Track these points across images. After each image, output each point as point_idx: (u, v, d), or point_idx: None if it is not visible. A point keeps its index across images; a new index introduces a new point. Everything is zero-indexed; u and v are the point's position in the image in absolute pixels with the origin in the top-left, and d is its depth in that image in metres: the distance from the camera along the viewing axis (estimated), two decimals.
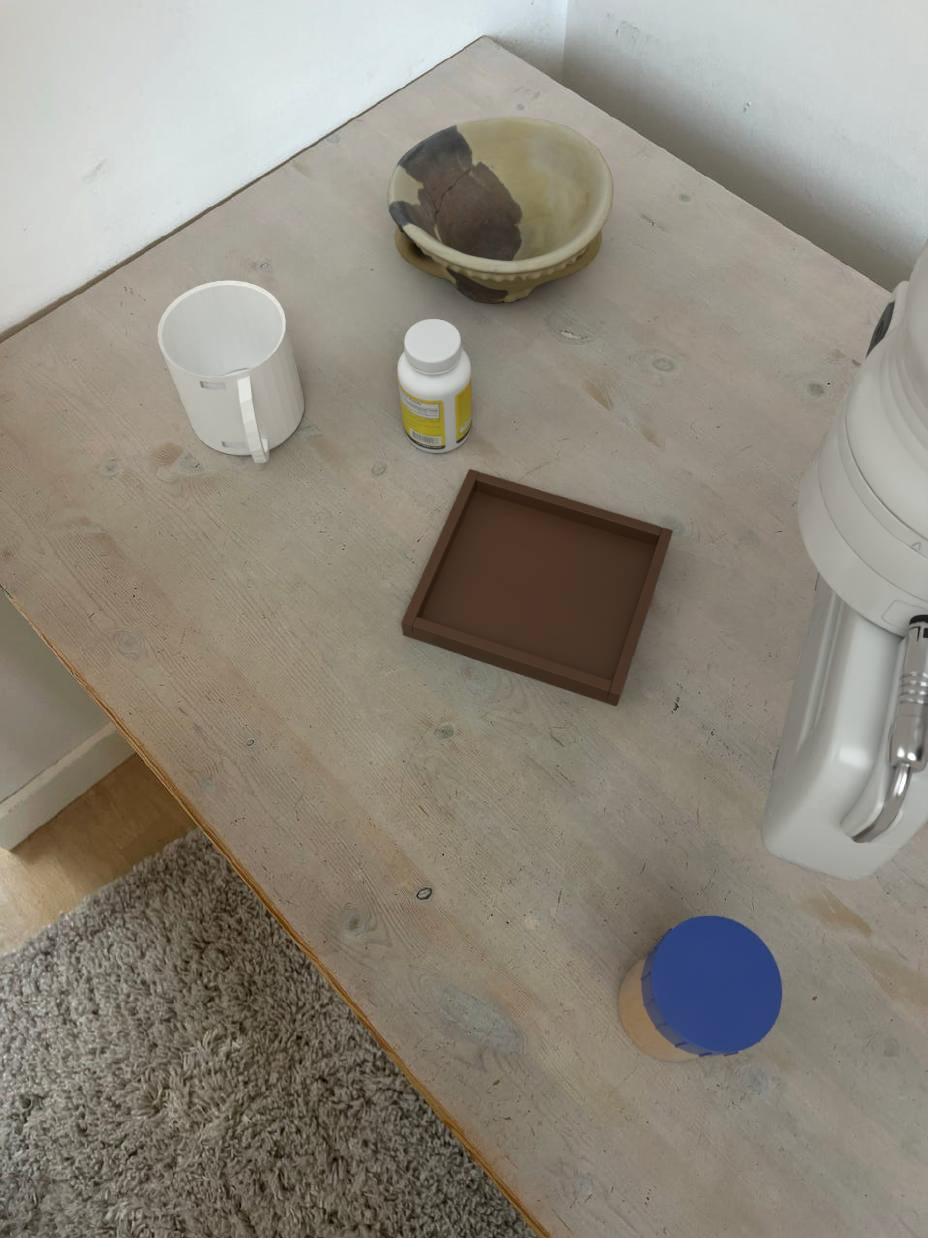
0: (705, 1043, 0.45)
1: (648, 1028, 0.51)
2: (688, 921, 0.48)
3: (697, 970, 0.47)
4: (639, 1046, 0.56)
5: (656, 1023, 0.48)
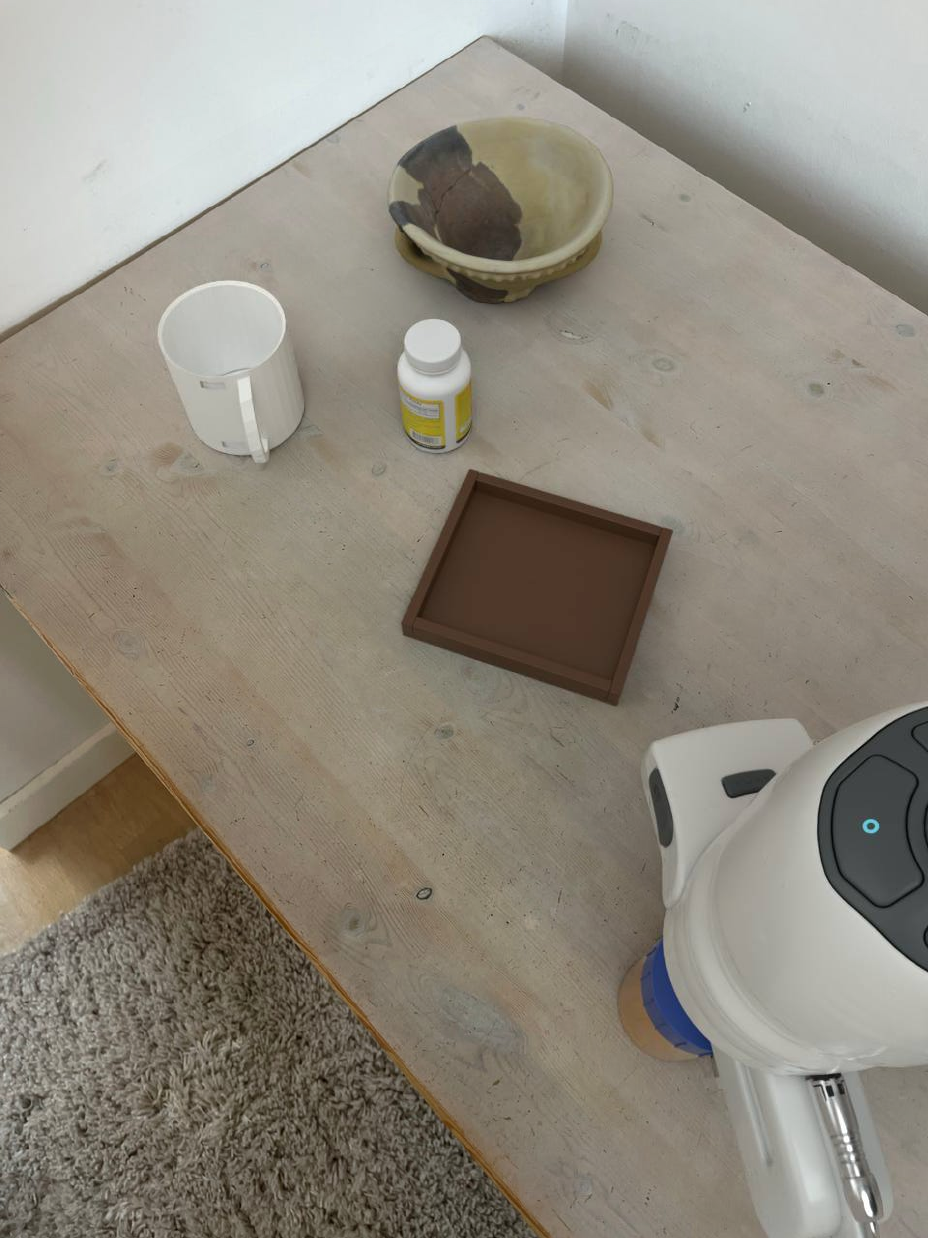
0: (705, 1043, 0.45)
1: (648, 1028, 0.51)
2: None
3: None
4: (639, 1046, 0.56)
5: (656, 1023, 0.48)
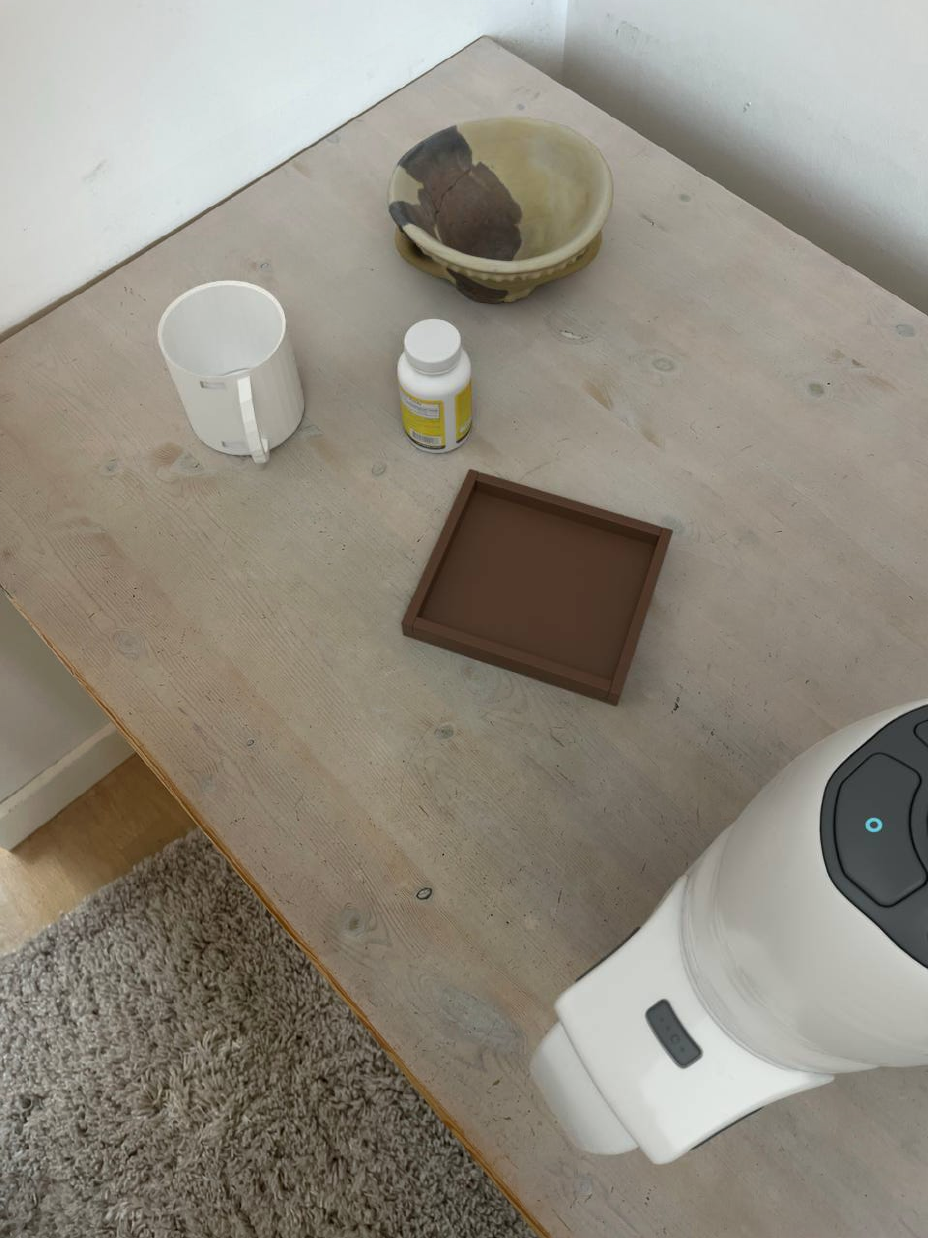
0: None
1: None
2: None
3: None
4: None
5: None
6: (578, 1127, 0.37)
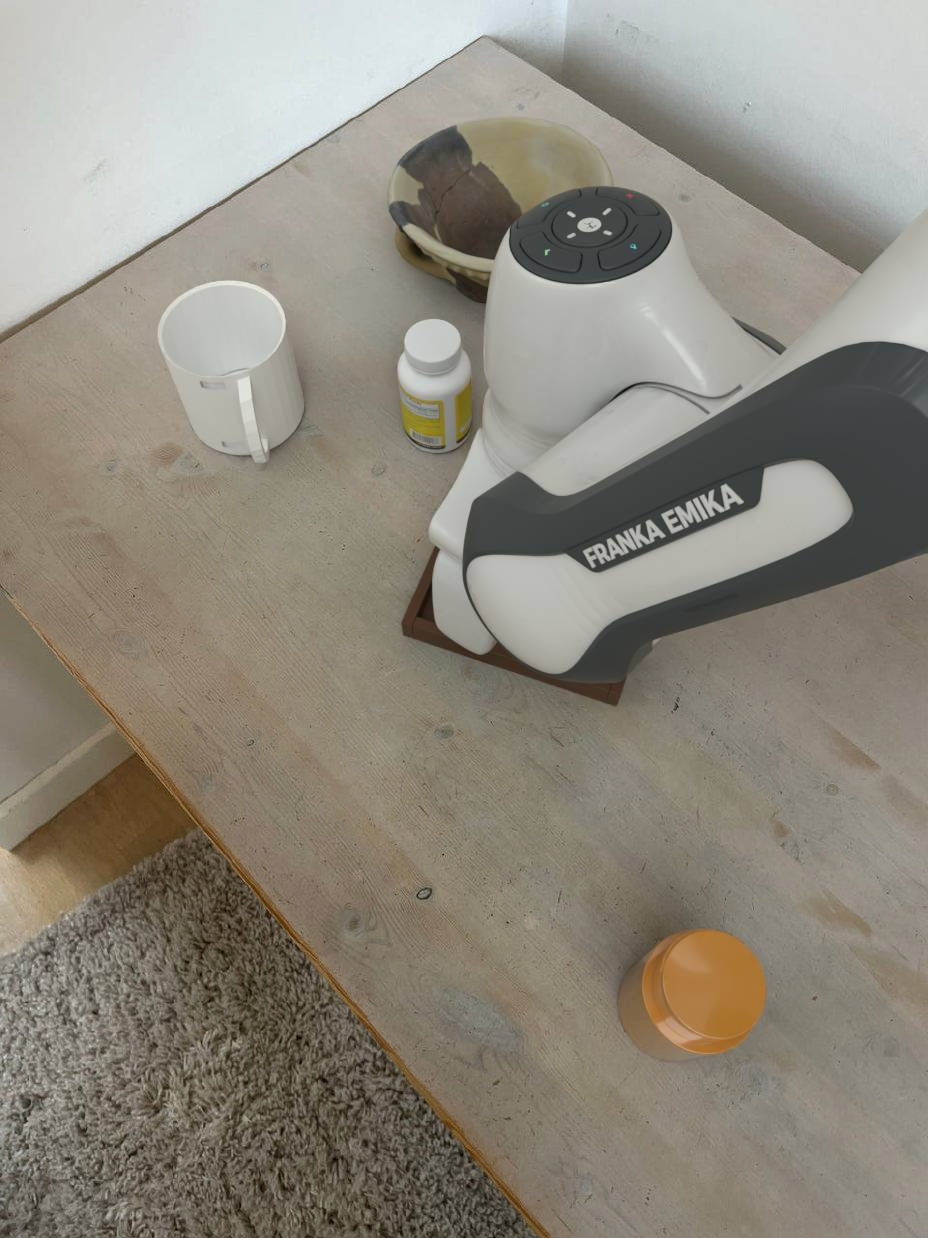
0: None
1: (648, 1028, 0.51)
2: None
3: None
4: (639, 1046, 0.56)
5: None
6: (474, 621, 0.56)
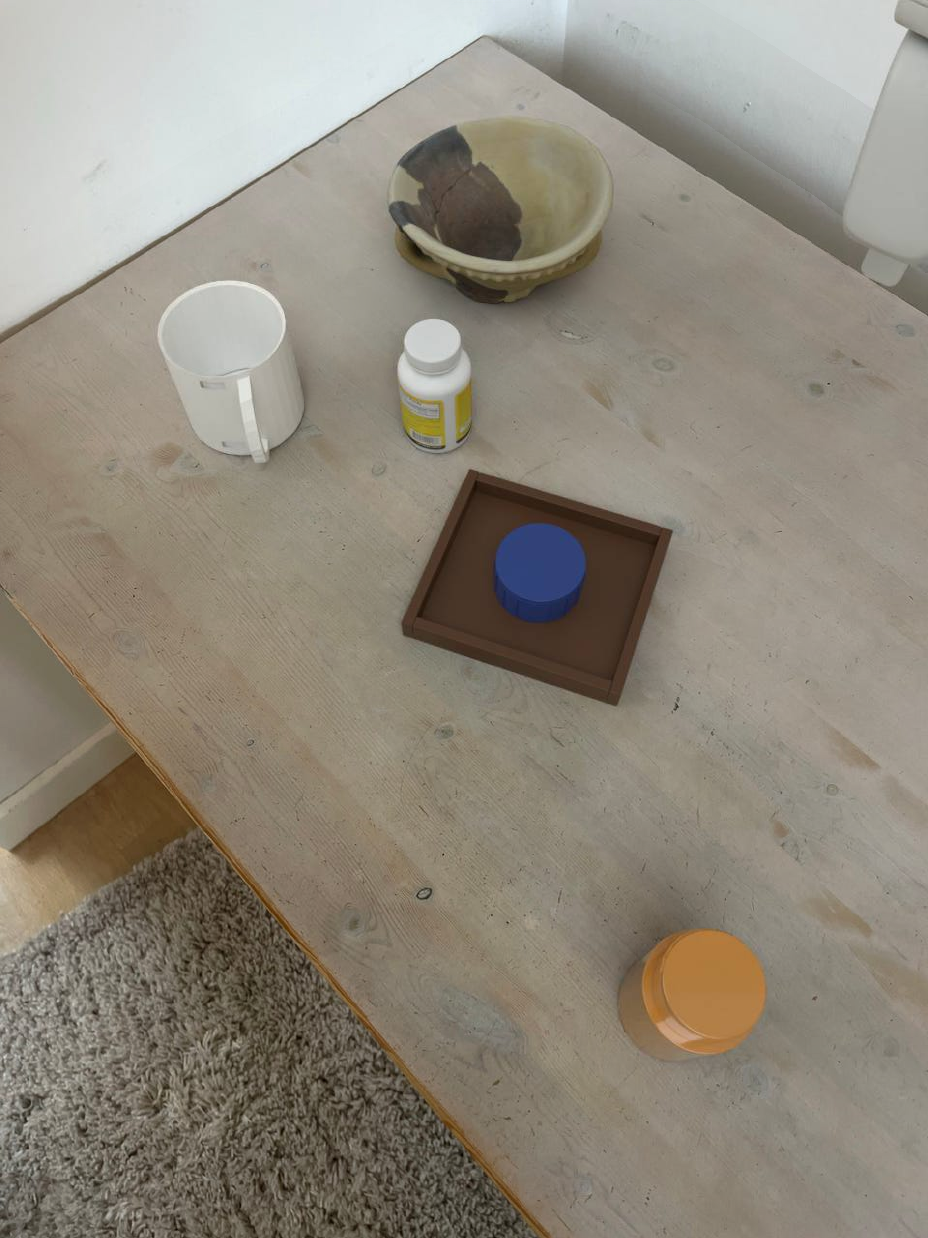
0: (576, 544, 0.68)
1: (648, 1028, 0.51)
2: (523, 596, 0.66)
3: (544, 573, 0.66)
4: (639, 1046, 0.56)
5: (581, 586, 0.69)
6: None
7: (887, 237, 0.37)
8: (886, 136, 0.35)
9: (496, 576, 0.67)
